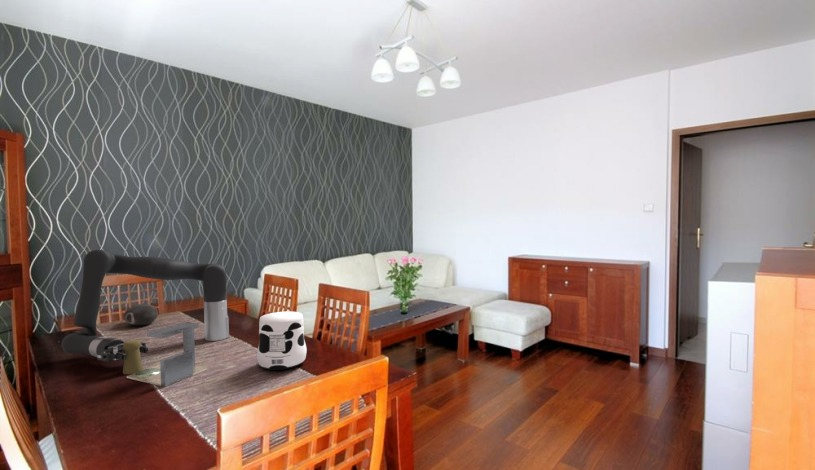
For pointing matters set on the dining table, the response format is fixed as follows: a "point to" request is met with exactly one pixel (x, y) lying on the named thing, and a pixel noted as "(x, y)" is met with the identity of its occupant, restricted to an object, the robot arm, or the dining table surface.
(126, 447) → the dining table surface
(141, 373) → the stand
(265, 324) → the milk container
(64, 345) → the robot arm
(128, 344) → the cork
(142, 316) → the decorative stone
